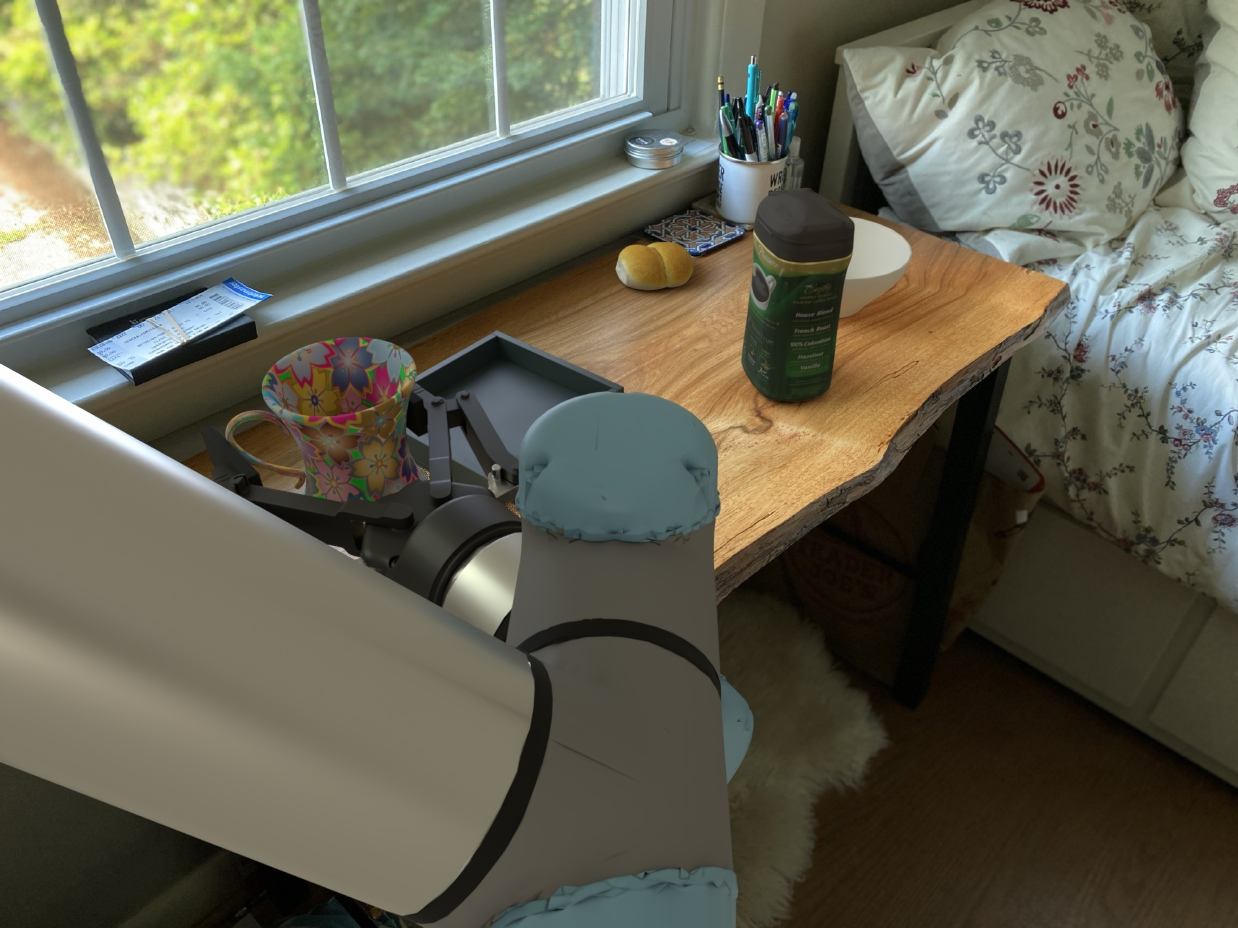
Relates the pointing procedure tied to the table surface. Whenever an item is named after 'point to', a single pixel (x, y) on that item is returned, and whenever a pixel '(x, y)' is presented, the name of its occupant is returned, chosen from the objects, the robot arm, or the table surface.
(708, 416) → the table surface
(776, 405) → the table surface
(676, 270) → the bread roll
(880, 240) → the bowl
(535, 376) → the tray
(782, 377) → the coffee jar
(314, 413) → the mug
